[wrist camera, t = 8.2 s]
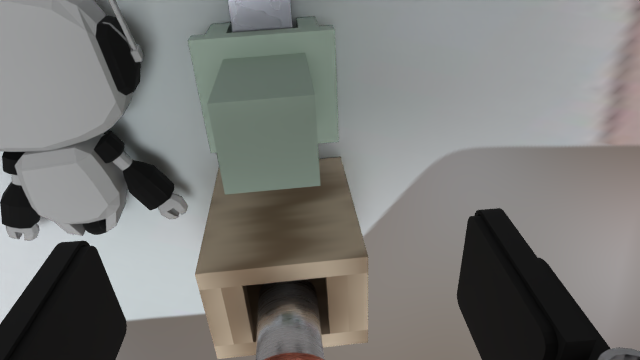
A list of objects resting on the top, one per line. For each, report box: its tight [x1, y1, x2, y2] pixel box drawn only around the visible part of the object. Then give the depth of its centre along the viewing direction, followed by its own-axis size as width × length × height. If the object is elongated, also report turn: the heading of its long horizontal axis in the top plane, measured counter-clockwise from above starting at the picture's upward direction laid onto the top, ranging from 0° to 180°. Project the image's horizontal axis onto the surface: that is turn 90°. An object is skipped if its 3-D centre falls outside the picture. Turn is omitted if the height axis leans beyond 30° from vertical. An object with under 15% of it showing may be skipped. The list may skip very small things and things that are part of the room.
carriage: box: [188, 17, 339, 195], centre depth 21 cm, size 7×6×10 cm
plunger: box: [256, 279, 324, 360], centre depth 20 cm, size 4×4×6 cm
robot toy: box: [0, 0, 188, 241], centre depth 24 cm, size 12×4×15 cm
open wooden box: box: [195, 157, 368, 359], centre depth 26 cm, size 8×6×10 cm
